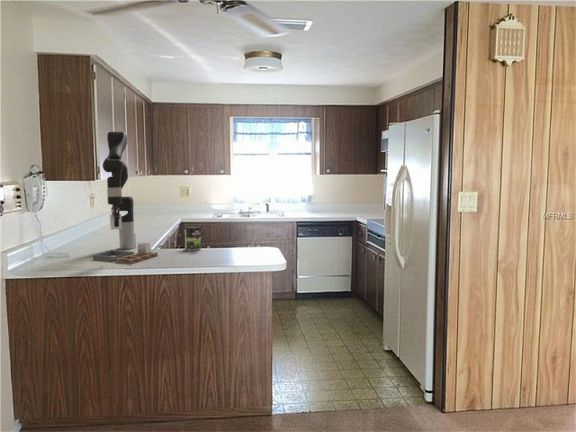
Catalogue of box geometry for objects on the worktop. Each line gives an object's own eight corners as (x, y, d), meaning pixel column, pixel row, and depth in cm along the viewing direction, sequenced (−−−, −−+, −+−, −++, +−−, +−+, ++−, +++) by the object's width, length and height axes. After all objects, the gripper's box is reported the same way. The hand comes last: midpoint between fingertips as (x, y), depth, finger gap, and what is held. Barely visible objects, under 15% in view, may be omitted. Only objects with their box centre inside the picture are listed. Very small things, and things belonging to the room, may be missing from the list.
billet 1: (110, 228, 264) (109, 214, 263) (120, 228, 266) (120, 213, 265) (111, 229, 260) (110, 214, 259) (121, 228, 263) (121, 214, 262)
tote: (113, 255, 280) (112, 250, 280) (134, 257, 274) (133, 251, 274) (93, 261, 266) (92, 255, 265) (115, 263, 260) (114, 257, 259)
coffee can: (204, 248, 300) (204, 226, 299) (191, 251, 293) (190, 228, 291) (195, 246, 307) (194, 225, 306) (181, 249, 300) (180, 227, 298)
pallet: (142, 256, 278) (142, 251, 278) (157, 257, 274) (157, 252, 274) (116, 264, 258) (115, 258, 258) (132, 265, 254) (131, 260, 254)
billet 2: (142, 255, 274) (142, 242, 273) (150, 256, 272) (149, 242, 271) (138, 257, 271) (137, 243, 270) (146, 257, 269) (145, 243, 268)
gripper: (123, 196, 257) (125, 227, 259) (119, 194, 269) (121, 224, 271) (109, 196, 253) (110, 228, 255) (105, 195, 266) (107, 225, 267)
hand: (116, 226), depth 263 cm, fingers closed on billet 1, 4 cm apart
